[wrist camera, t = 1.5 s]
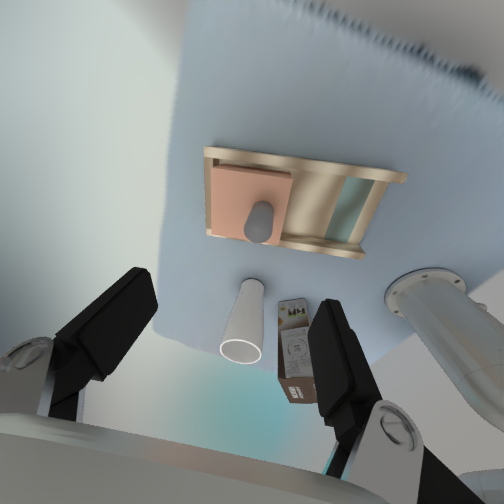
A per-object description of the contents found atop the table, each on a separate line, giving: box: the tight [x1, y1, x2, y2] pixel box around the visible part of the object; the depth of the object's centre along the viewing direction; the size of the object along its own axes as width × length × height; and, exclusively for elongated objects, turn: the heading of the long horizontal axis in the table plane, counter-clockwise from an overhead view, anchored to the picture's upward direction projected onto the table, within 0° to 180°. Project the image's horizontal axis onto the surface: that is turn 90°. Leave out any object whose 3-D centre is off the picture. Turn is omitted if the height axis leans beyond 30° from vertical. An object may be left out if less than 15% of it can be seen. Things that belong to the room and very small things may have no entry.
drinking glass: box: [220, 279, 264, 364], centre depth 34 cm, size 7×7×15 cm
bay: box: [204, 146, 408, 260], centre depth 28 cm, size 26×13×4 cm, turn 84°
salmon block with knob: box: [211, 163, 293, 245], centre depth 24 cm, size 10×9×12 cm
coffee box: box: [278, 299, 318, 404], centre depth 36 cm, size 9×6×16 cm
